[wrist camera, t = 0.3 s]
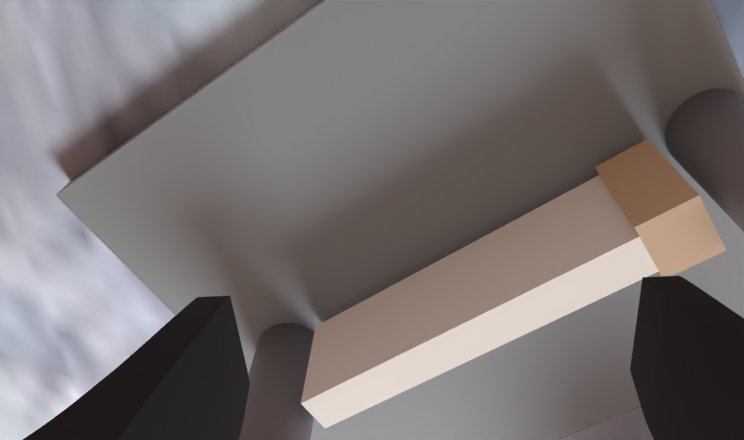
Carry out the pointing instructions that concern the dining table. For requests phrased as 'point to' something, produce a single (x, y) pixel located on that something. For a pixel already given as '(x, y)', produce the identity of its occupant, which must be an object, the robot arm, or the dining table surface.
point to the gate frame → (422, 189)
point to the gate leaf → (511, 283)
